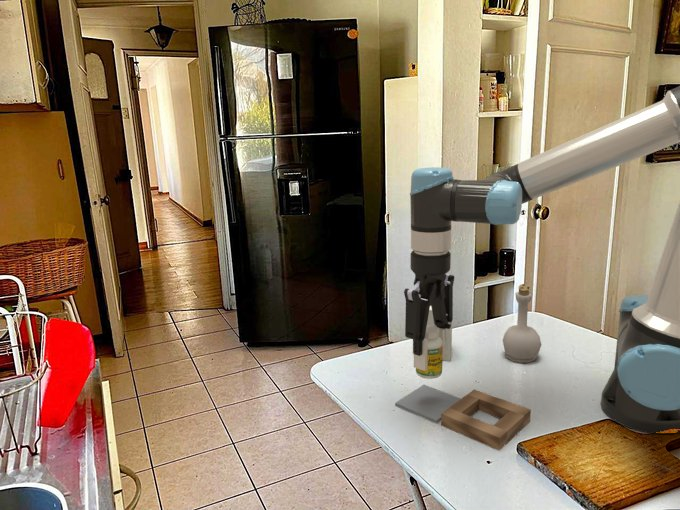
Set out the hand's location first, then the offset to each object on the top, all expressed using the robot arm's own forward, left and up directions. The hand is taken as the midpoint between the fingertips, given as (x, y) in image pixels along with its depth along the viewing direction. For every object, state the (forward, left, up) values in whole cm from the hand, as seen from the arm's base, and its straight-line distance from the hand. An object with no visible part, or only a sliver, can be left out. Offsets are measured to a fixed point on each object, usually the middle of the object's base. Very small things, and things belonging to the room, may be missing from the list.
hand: (429, 362), depth 105 cm
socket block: (-12, -1, -9) cm, 15 cm away
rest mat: (0, 0, -9) cm, 9 cm away
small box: (+12, -21, -9) cm, 26 cm away
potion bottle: (-4, -32, -9) cm, 34 cm away
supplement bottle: (0, 0, -3) cm, 3 cm away
